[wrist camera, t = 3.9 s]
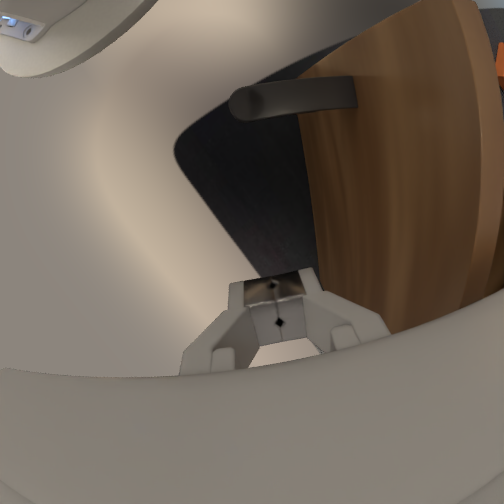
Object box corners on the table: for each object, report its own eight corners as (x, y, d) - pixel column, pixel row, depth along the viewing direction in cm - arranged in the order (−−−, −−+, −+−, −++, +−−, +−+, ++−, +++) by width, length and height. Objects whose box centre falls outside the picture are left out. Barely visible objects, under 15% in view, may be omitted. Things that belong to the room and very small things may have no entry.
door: (271, 290, 32) (303, 477, 12) (229, 92, 22) (187, -28, 3) (329, 278, 31) (405, 447, 12) (302, 81, 22) (476, 1, 2)
